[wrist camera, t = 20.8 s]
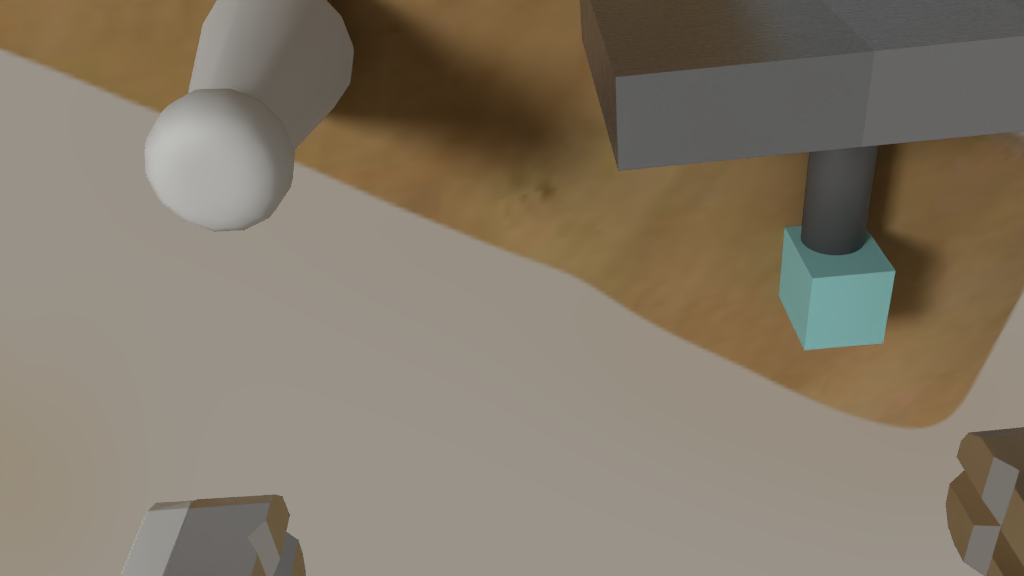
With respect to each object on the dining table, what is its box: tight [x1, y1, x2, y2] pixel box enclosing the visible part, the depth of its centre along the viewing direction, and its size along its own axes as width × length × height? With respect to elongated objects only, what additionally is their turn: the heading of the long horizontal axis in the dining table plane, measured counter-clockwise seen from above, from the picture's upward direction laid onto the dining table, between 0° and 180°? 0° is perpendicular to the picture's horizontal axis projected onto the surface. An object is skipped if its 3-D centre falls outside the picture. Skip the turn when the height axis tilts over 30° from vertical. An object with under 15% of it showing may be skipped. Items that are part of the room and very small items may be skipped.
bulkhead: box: [580, 0, 1024, 171], centre depth 31 cm, size 3×20×12 cm, turn 95°
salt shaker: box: [145, 0, 354, 231], centre depth 32 cm, size 6×6×13 cm
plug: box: [779, 145, 896, 350], centre depth 40 cm, size 13×4×4 cm, turn 5°
